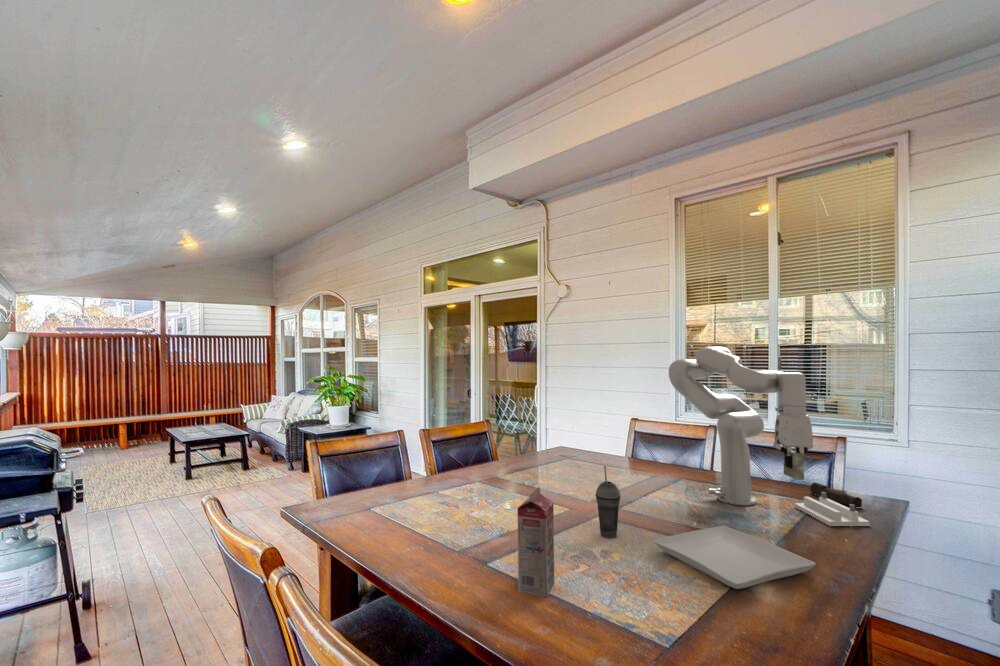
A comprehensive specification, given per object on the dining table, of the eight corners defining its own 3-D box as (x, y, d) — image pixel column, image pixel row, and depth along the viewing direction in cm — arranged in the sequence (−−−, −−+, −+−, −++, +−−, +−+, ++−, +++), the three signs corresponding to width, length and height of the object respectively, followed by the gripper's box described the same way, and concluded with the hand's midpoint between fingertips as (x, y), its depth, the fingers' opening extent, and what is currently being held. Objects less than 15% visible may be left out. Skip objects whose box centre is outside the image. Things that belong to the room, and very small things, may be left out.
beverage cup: (607, 542, 135) (605, 471, 135) (590, 533, 141) (589, 465, 142) (626, 537, 138) (625, 468, 139) (610, 529, 144) (608, 463, 145)
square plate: (738, 601, 103) (737, 582, 103) (650, 553, 128) (650, 538, 128) (818, 576, 114) (818, 560, 114) (723, 536, 139) (723, 523, 139)
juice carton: (518, 592, 107) (517, 493, 108) (527, 578, 113) (526, 485, 114) (546, 597, 105) (545, 495, 106) (554, 583, 111) (553, 487, 112)
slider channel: (830, 526, 145) (829, 507, 146) (794, 507, 163) (794, 490, 164) (869, 526, 145) (868, 507, 145) (829, 507, 163) (829, 490, 163)
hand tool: (863, 509, 162) (863, 495, 162) (853, 509, 161) (852, 495, 162) (817, 493, 181) (816, 481, 181) (808, 493, 180) (807, 481, 180)
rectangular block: (796, 479, 150) (795, 454, 150) (783, 473, 157) (783, 449, 157) (804, 479, 150) (803, 454, 150) (791, 473, 157) (790, 449, 157)
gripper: (774, 412, 150) (775, 470, 150) (824, 412, 150) (826, 470, 150) (761, 409, 158) (762, 464, 157) (809, 409, 158) (810, 464, 157)
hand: (793, 467), depth 153 cm, fingers closed on rectangular block, 2 cm apart
